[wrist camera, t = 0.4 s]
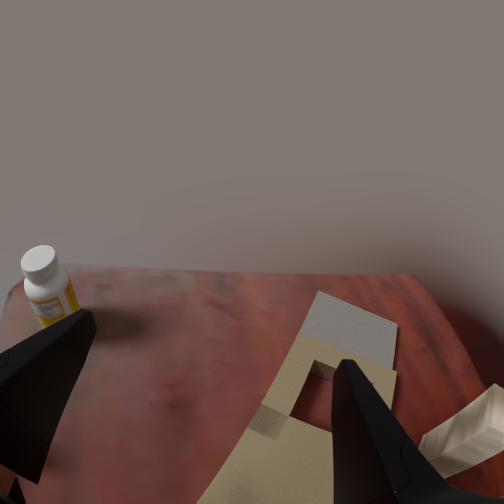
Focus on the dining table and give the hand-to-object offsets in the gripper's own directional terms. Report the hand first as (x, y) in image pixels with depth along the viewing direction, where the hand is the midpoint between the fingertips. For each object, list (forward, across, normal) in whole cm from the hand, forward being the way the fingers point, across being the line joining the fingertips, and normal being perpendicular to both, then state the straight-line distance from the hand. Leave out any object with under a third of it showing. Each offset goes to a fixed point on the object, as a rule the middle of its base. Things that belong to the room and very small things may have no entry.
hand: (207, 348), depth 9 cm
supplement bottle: (+10, +19, +15) cm, 26 cm away
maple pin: (+1, -23, +18) cm, 29 cm away
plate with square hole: (+7, -10, +16) cm, 21 cm away
